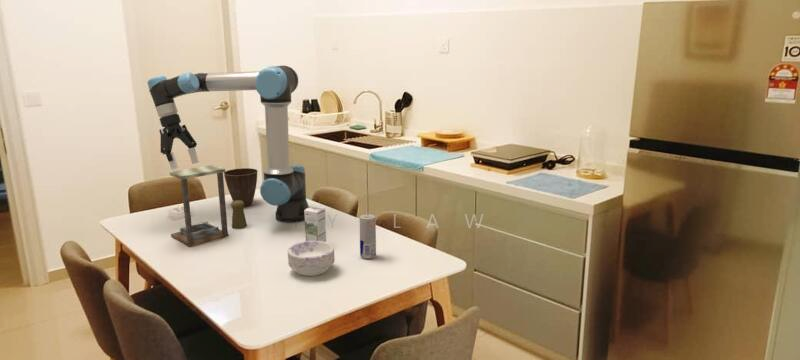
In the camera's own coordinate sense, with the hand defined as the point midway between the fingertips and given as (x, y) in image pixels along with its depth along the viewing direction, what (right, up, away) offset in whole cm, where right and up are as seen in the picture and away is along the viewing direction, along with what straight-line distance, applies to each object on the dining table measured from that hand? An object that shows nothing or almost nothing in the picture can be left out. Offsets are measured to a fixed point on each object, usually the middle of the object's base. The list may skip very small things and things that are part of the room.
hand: (185, 166), depth 224 cm
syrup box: (+56, -30, -19) cm, 66 cm away
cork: (+21, -25, +3) cm, 33 cm away
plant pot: (+14, -17, +33) cm, 40 cm away
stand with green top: (+9, -28, -9) cm, 31 cm away
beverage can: (+76, -33, -29) cm, 88 cm away
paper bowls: (+58, -36, -41) cm, 80 cm away
